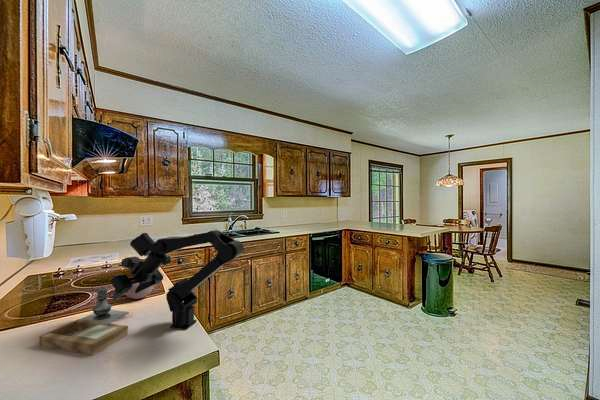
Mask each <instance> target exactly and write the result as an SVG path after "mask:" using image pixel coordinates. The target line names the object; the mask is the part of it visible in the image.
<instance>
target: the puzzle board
mask: <svg viewBox="0 0 600 400" xmlns="http://www.w3.org/2000/svg"><path fill="white" fill-rule="evenodd" d="M76 331H78V332H76ZM73 332H76V333H75V334H72V335H71V336H70V335H69V334H71V333H73ZM128 335H129V326H128V325H125V324H117V323H112V322H111V323H104V322H97V321H90V320H82V319H81V318H78V319H76V320H74V321H70V322H69V323H66V324H64V325H62V326H59V327H57V328H55V329H52V330H50V331H47V332H45V333H43V334H40V335H39V337H38V338H39V340H38V341H39V343H38V347H44V348H50V349H57V350H61V351H62V350H63V351H65V352H72V353H79V354H84V355H91V356H94V355H96V354H98V353H100V352H101V351H103V350H106V349H107V348H109V347H110V346H112V345H114V343H116V342H119V341H121V340H122V339H123V338H126V337H127V336H128Z"/></svg>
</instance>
